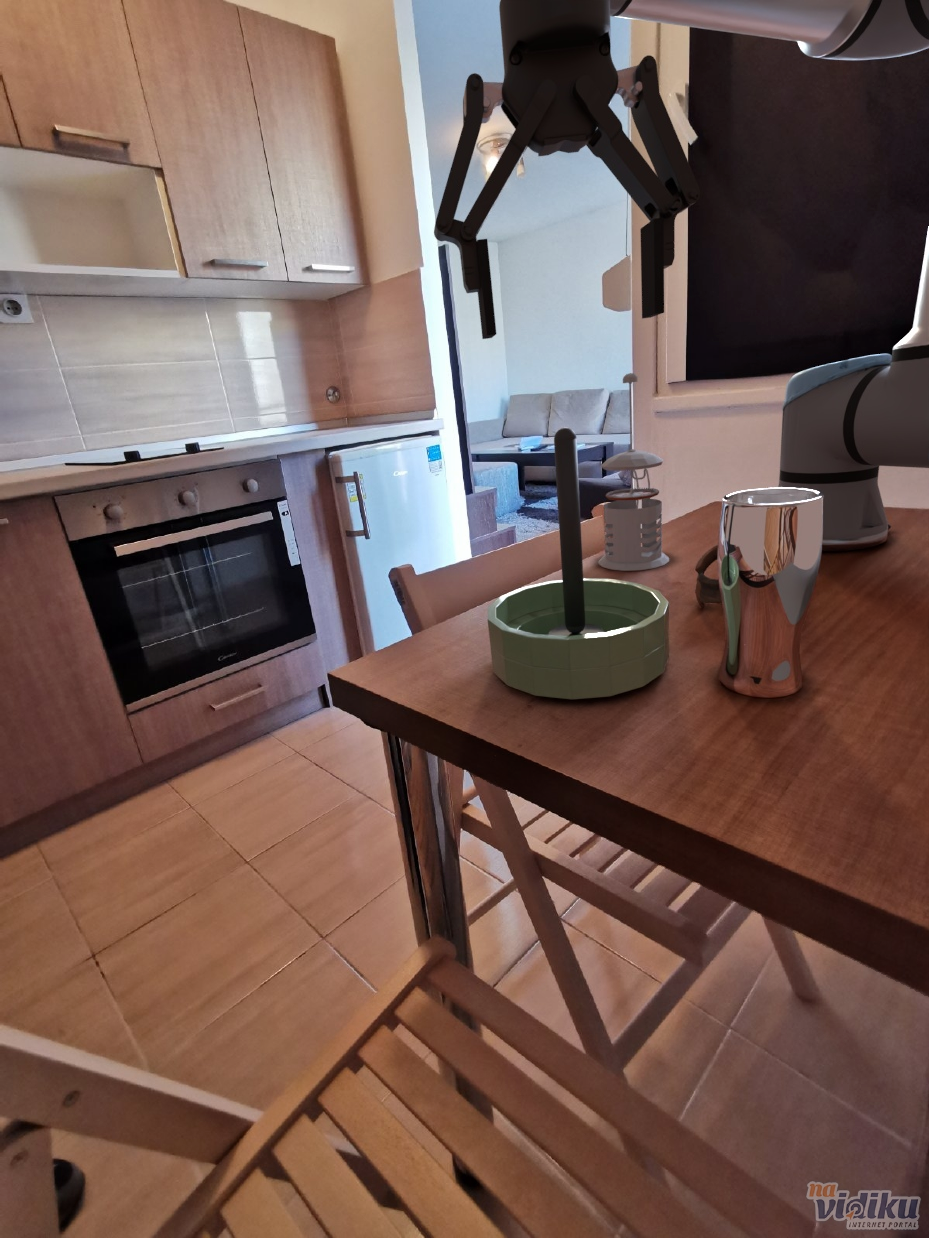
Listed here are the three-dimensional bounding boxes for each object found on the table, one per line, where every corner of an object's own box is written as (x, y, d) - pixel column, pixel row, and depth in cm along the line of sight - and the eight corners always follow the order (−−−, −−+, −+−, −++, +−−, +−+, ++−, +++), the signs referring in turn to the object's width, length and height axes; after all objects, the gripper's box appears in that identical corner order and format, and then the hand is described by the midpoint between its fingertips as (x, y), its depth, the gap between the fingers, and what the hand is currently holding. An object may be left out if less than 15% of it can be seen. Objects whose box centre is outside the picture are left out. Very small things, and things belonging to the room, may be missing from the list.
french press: (589, 569, 83) (580, 378, 74) (612, 548, 92) (607, 376, 83) (661, 571, 78) (661, 368, 69) (678, 549, 87) (679, 367, 79)
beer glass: (733, 655, 52) (742, 486, 47) (821, 674, 48) (840, 487, 42) (698, 686, 48) (702, 503, 43) (790, 710, 43) (807, 506, 38)
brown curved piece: (819, 618, 59) (793, 558, 55) (727, 657, 63) (697, 603, 59) (772, 558, 69) (748, 504, 65) (695, 595, 72) (667, 546, 68)
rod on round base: (610, 648, 55) (602, 422, 48) (598, 672, 51) (588, 427, 44) (558, 645, 57) (544, 427, 50) (542, 667, 53) (524, 433, 46)
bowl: (676, 638, 57) (677, 579, 55) (653, 717, 44) (652, 645, 42) (525, 629, 64) (521, 577, 62) (467, 696, 51) (458, 632, 49)
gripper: (369, -36, 36) (421, 340, 44) (758, -73, 38) (744, 299, 45) (374, 36, 43) (418, 350, 51) (701, 3, 45) (698, 314, 52)
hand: (571, 326), depth 48 cm, fingers open, 13 cm apart
